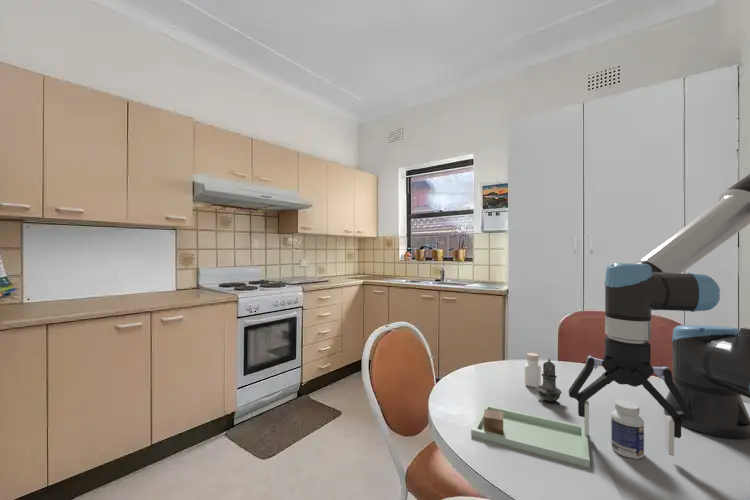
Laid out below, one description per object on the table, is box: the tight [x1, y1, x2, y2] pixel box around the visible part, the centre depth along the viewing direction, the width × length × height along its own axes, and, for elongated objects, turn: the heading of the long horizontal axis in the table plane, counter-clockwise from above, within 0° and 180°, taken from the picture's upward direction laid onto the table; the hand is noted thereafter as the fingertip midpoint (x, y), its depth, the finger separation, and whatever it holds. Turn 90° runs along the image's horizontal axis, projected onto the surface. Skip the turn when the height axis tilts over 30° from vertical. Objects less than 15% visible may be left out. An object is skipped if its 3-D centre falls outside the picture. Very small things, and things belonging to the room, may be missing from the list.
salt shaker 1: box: [524, 352, 542, 389], centre depth 103 cm, size 4×4×10 cm
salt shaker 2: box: [536, 358, 563, 406], centre depth 91 cm, size 6×6×12 cm
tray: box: [470, 404, 591, 469], centre depth 74 cm, size 22×14×2 cm, turn 60°
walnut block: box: [484, 409, 503, 435], centre depth 75 cm, size 4×4×4 cm
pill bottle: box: [610, 399, 645, 460], centre depth 69 cm, size 5×5×10 cm
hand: (625, 442), depth 69 cm, fingers open, 13 cm apart
